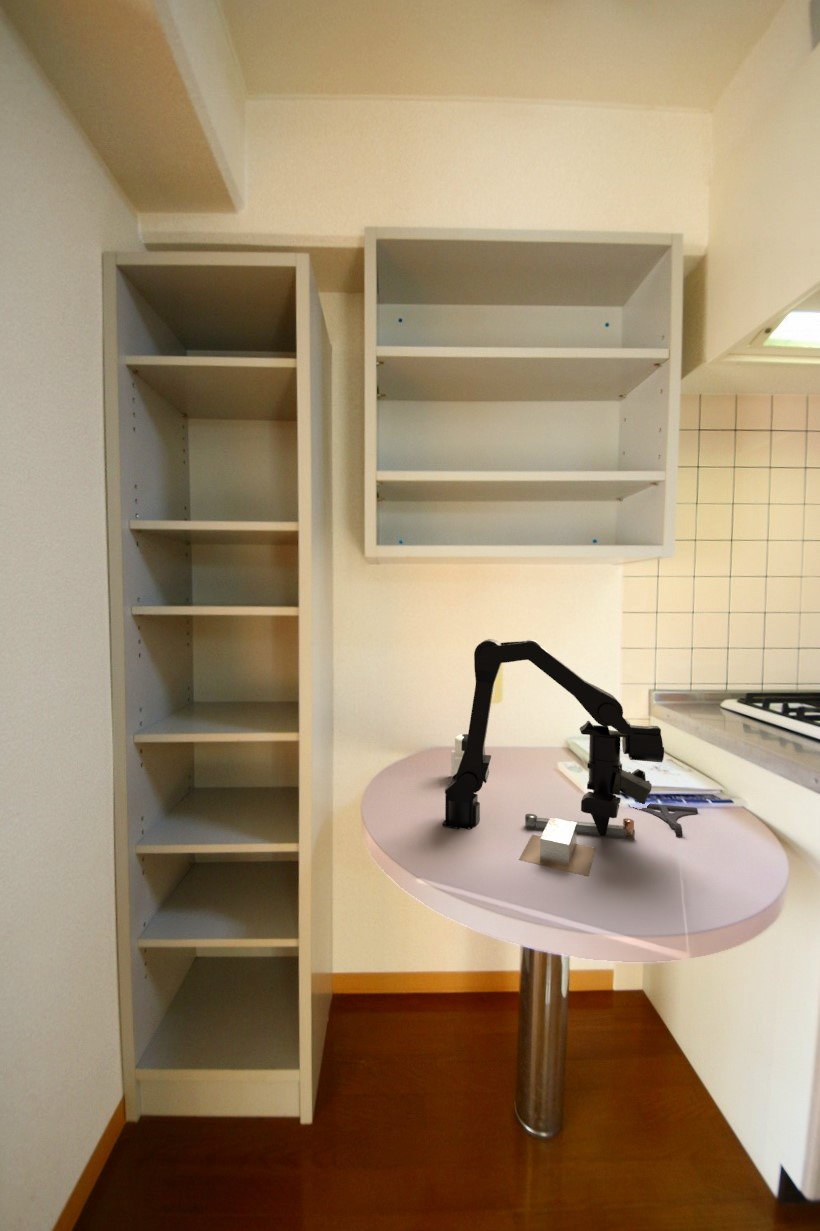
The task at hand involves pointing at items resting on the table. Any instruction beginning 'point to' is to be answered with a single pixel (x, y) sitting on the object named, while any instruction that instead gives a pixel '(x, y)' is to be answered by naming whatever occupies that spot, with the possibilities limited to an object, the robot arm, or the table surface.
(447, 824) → the robot arm
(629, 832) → the lever
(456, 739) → the medicine bottle
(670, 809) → the bracket
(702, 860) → the table surface
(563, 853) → the stone-textured block
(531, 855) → the plate
